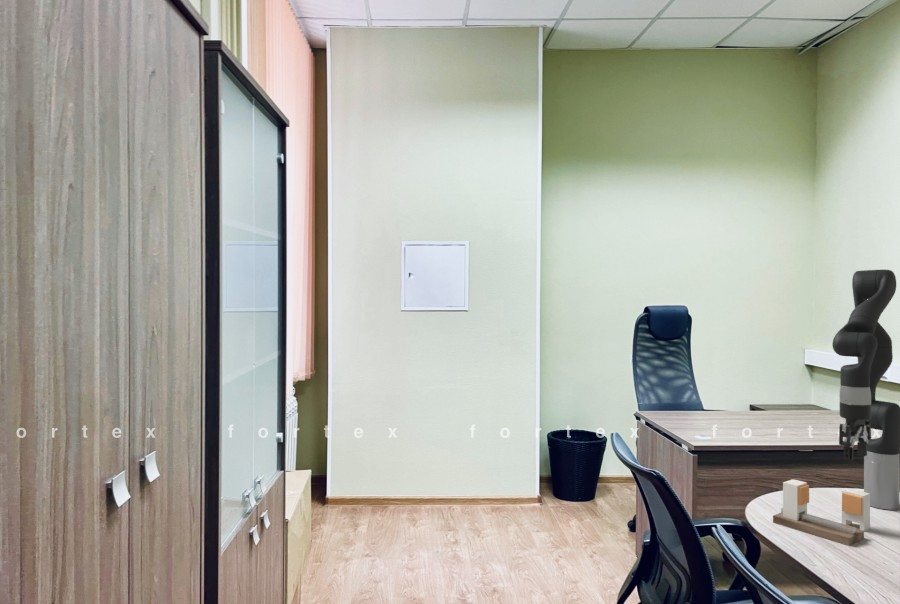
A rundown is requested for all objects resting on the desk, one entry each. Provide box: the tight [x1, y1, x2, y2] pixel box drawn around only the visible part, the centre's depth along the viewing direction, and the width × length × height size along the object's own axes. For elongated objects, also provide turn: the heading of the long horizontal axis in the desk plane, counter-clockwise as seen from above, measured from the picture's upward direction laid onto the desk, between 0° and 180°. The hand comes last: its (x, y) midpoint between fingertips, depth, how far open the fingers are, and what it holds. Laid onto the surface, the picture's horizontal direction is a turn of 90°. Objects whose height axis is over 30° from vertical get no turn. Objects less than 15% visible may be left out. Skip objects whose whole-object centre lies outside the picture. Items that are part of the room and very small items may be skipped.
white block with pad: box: [841, 488, 871, 532], centre depth 171 cm, size 6×5×10 cm
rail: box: [772, 478, 865, 547], centre depth 169 cm, size 9×20×12 cm, turn 34°
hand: (855, 457), depth 171 cm, fingers open, 8 cm apart
